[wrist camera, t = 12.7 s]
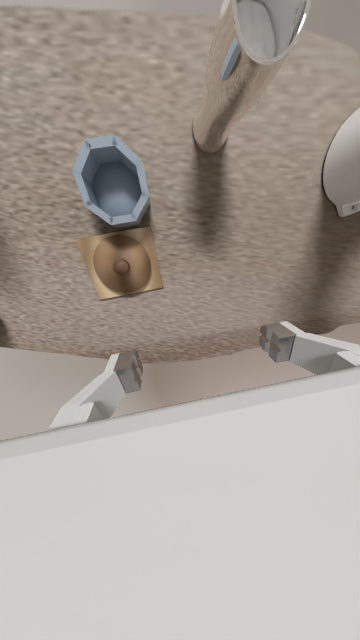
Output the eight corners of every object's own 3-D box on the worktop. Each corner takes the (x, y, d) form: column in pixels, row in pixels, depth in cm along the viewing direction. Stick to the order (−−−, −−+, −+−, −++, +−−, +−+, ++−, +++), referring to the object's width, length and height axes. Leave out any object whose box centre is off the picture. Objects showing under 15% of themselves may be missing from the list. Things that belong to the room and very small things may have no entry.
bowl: (139, 152, 25) (136, 131, 21) (153, 222, 30) (153, 217, 25) (78, 160, 25) (61, 142, 20) (102, 230, 29) (92, 228, 24)
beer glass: (236, 142, 26) (319, 36, 13) (200, 166, 27) (244, 88, 14) (222, 84, 23) (312, -134, 10) (181, 112, 24) (216, -58, 11)
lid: (143, 230, 30) (141, 228, 26) (156, 286, 35) (156, 291, 31) (85, 240, 29) (75, 239, 25) (107, 296, 34) (101, 302, 30)
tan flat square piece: (149, 226, 30) (149, 226, 29) (162, 287, 35) (163, 287, 35) (76, 239, 29) (75, 239, 29) (101, 299, 34) (100, 299, 34)
